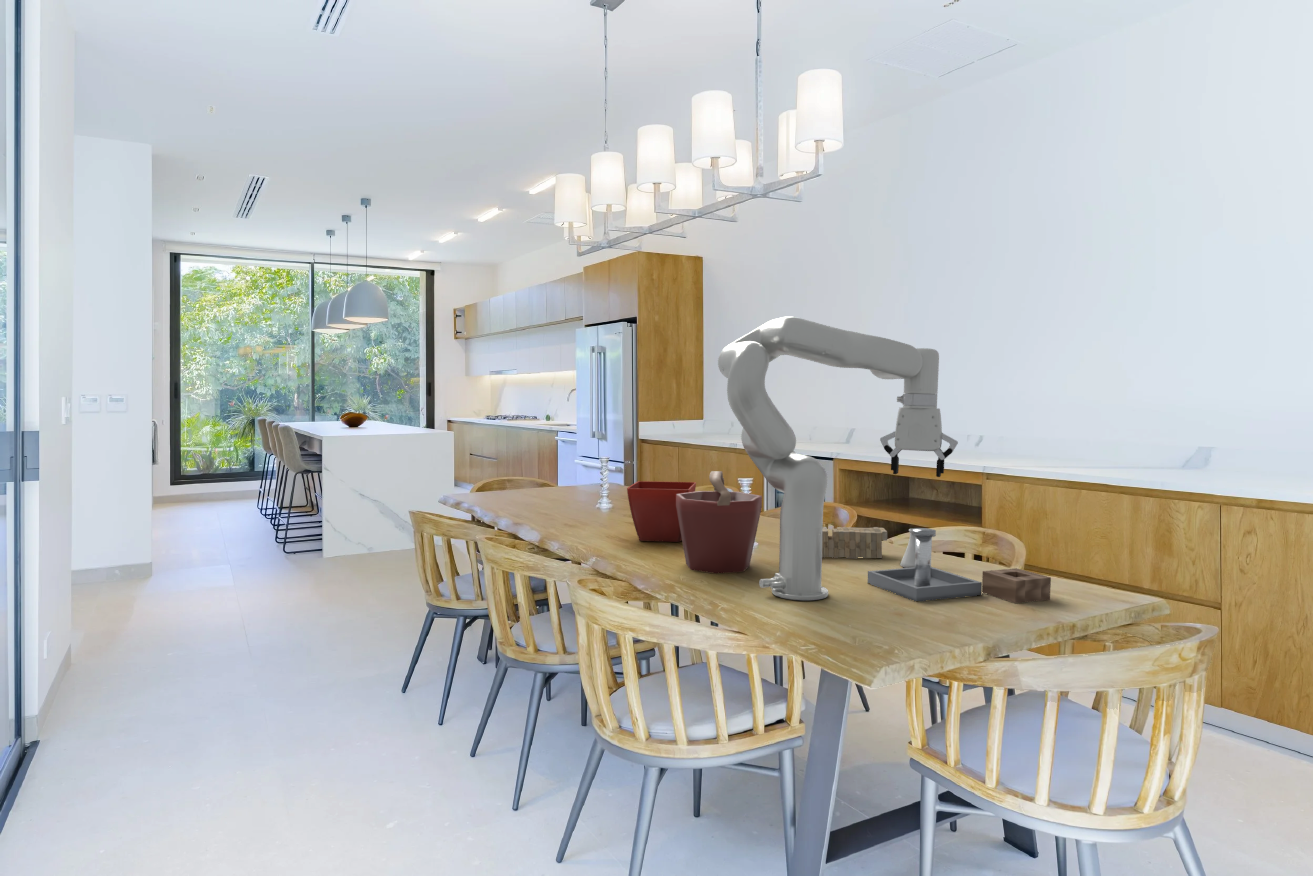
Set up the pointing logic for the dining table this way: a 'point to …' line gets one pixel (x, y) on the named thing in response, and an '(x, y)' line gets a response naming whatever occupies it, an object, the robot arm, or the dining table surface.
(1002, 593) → the socket block
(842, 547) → the block tower
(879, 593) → the dining table surface
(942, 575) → the tray
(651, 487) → the plant pot
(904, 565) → the flask
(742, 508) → the bucket
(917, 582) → the steel pin
